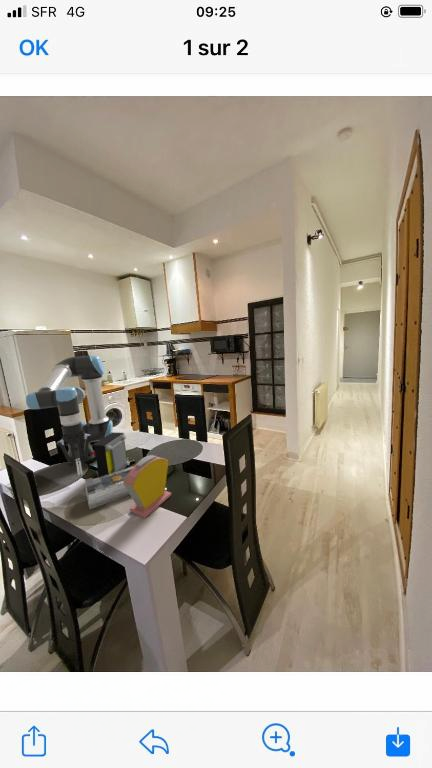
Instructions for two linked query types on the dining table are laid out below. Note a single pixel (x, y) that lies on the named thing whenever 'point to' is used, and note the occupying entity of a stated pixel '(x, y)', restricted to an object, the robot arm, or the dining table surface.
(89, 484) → the grey slider block
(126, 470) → the rail slide plate
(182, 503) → the dining table surface
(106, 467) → the electrical component
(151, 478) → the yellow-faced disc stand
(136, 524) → the dining table surface
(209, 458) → the dining table surface
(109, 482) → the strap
